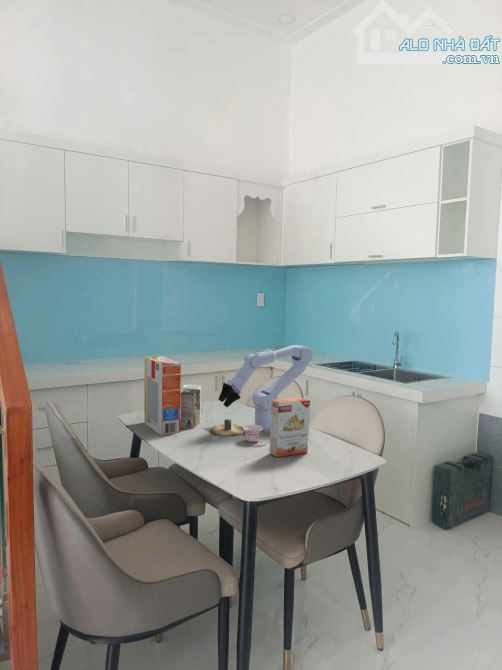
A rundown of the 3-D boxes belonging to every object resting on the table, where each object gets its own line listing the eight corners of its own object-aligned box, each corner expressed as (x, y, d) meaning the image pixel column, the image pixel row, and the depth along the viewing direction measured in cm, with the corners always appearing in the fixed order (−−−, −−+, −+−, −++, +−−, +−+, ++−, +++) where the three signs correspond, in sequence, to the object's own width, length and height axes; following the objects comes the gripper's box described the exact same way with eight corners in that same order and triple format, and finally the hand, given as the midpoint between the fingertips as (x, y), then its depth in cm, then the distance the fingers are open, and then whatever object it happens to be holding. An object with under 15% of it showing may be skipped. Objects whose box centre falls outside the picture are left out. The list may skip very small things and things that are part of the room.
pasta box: (179, 433, 218) (180, 363, 215) (161, 435, 214) (162, 364, 211) (161, 420, 237) (161, 356, 234) (144, 422, 233) (144, 357, 230)
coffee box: (186, 423, 234) (187, 388, 232) (200, 424, 232) (200, 389, 231) (179, 428, 225) (180, 392, 223) (193, 429, 223) (194, 393, 222)
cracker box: (277, 458, 189) (278, 402, 187) (268, 453, 195) (270, 399, 193) (308, 453, 196) (310, 399, 194) (300, 448, 201) (301, 396, 199)
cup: (203, 419, 241) (204, 385, 239) (192, 423, 234) (193, 388, 232) (190, 416, 245) (190, 383, 244) (179, 420, 238) (179, 386, 237)
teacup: (246, 436, 216) (246, 422, 215) (272, 441, 210) (272, 426, 210) (232, 444, 205) (232, 429, 205) (259, 449, 200) (259, 433, 199)
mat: (235, 425, 232) (235, 424, 232) (253, 434, 218) (253, 433, 218) (202, 429, 224) (203, 428, 224) (219, 439, 210) (219, 438, 210)
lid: (234, 424, 231) (235, 414, 231) (251, 433, 218) (251, 422, 218) (204, 428, 224) (204, 417, 223) (220, 437, 211) (220, 426, 210)
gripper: (238, 379, 229) (220, 403, 226) (229, 367, 217) (210, 393, 214) (250, 386, 226) (232, 412, 223) (242, 375, 214) (223, 402, 211)
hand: (222, 403), depth 218 cm, fingers open, 7 cm apart
